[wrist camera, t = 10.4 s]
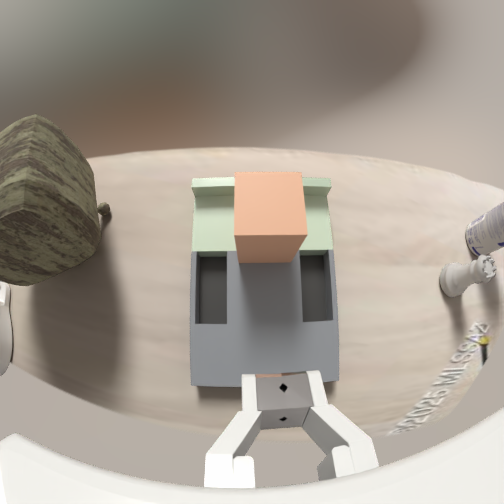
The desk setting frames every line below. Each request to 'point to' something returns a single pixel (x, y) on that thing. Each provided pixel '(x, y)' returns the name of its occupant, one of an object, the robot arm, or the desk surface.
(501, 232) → the energy drink
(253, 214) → the block
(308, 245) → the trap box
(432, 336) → the desk surface
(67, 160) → the tabletop clock
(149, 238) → the desk surface
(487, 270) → the rook chess piece
